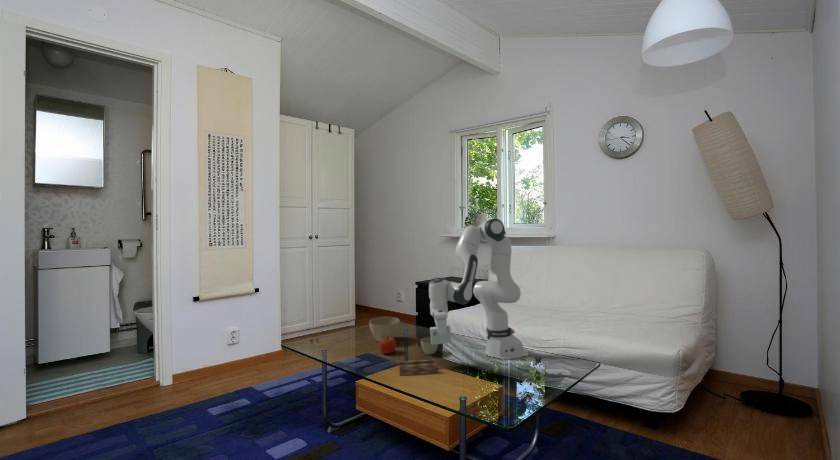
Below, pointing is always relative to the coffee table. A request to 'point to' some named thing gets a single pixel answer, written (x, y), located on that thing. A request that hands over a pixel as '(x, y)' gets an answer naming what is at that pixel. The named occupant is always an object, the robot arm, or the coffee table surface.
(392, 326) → the large beige bowl
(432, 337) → the pale mint flat box
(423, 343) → the bowl
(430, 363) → the brown flat wooden block
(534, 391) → the coffee table surface
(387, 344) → the fruit
